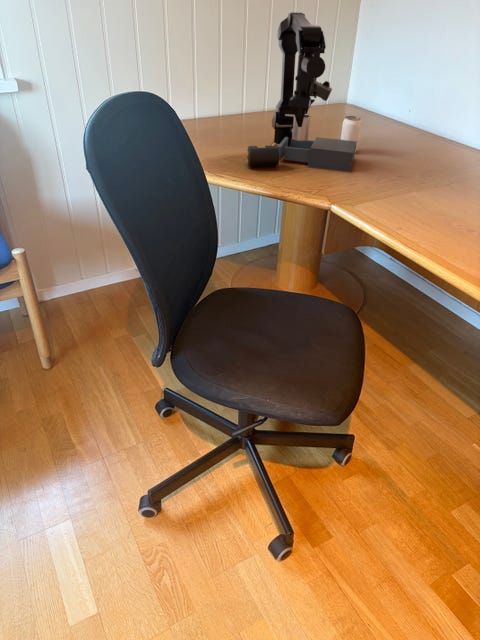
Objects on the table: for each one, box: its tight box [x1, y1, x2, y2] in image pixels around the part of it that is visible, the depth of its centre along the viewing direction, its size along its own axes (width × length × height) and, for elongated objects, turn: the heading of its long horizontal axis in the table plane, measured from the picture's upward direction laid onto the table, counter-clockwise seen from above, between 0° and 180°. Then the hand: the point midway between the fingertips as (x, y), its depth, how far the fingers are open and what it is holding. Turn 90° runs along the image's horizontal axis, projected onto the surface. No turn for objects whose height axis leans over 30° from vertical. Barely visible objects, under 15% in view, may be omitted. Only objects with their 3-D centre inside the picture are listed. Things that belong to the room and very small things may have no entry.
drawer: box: [271, 137, 315, 163], centre depth 173 cm, size 17×13×5 cm
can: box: [340, 115, 362, 153], centre depth 181 cm, size 6×6×12 cm
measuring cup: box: [285, 113, 311, 141], centre depth 163 cm, size 8×5×7 cm, turn 74°
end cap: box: [246, 145, 280, 169], centre depth 165 cm, size 10×7×7 cm
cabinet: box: [307, 136, 357, 173], centre depth 171 cm, size 14×14×6 cm
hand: (301, 125), depth 162 cm, fingers closed on measuring cup, 5 cm apart
